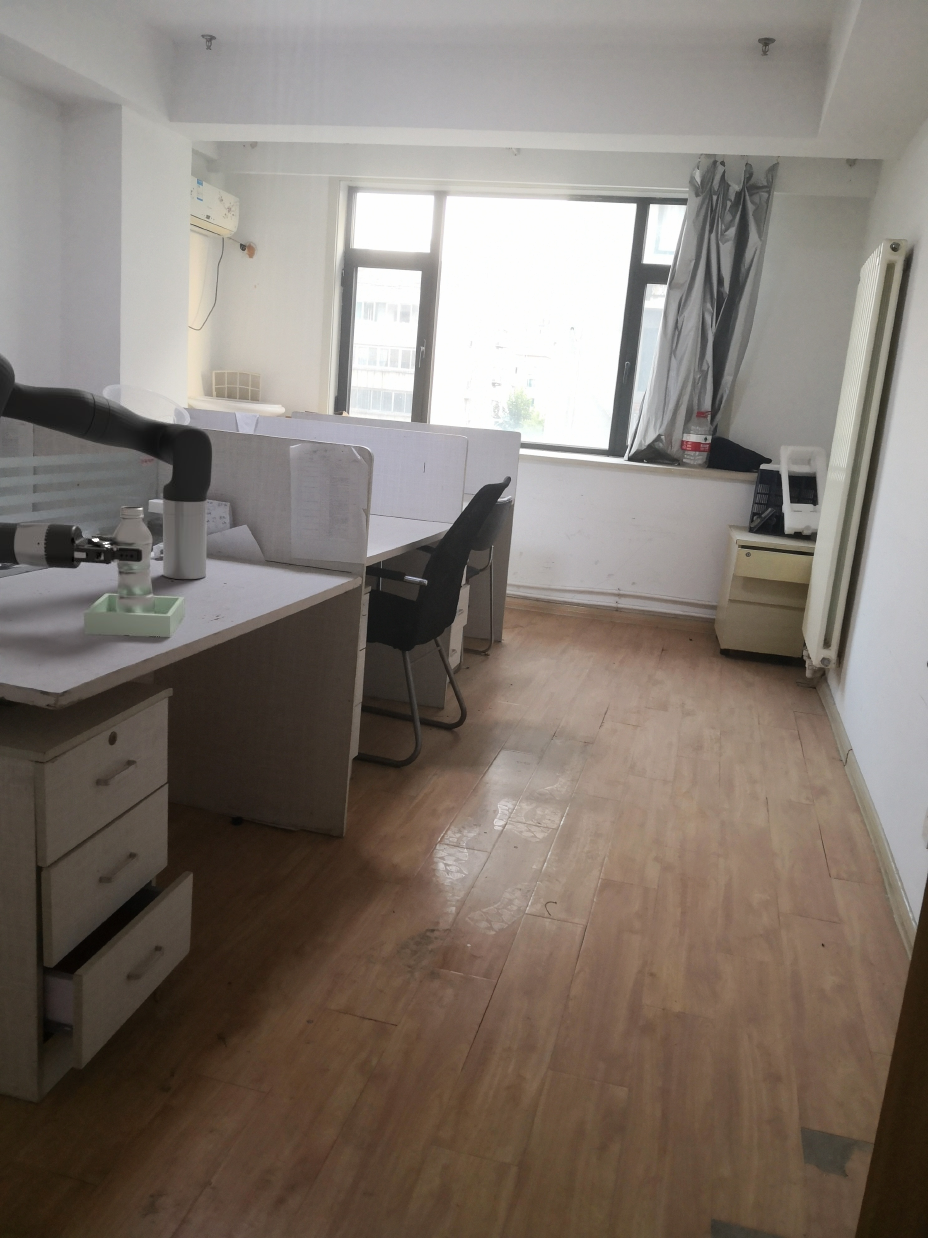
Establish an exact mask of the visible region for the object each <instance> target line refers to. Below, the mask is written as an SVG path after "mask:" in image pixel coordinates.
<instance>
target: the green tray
mask: <svg viewBox="0 0 928 1238" xmlns="http://www.w3.org/2000/svg"><path fill="white" fill-rule="evenodd" d="M117 594H118V593H107V592H106V593H104V594H103V595H102V596H101V597H100V598H99V599H97V600H96V601H95V602H93V604H92V605H91V606H89V607H88V608H87V609H86V610H85V611H83V623H84V624H83V629H84V635H99V634H100V635H99V636H101V635H105V636H107V635H108V636H124V635H129V636H130V637H149V636H156V637H155V638H171V637H172V635H173V634H174V633H175V631H176V630H177V629H176V628H178V627H179V626H178V625H181V623H182V621H183V620H184V618H185V614H186V613H185V612H186V611H185V610H186V609H185V603H186V602H185V598H186V597H185V596H167V595H154V599H155V612H154V614H142V613H119V612H117V610H116V598H117ZM129 636H128V637H129ZM157 636H158V637H157ZM159 636H160V637H159Z"/></svg>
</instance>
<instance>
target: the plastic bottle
mask: <svg viewBox="0 0 928 1238" xmlns="http://www.w3.org/2000/svg"><path fill="white" fill-rule="evenodd" d="M119 518H120V519H121V522H120V523H119V524H118V526H117V527H116V529H115V530H114V532H113V534H112V535H113V543H114V546H116V547H118V550H119V547H122V548H140V549H142V561H140V562H130V561H119V559H118V562H116V568H117V575H118V576H117V593H116V594H117V598H116V610H117V612H119V613H142V614H154V612H155V599H154V596H155V595H154V593H153V586H152V578H151V557H152V552H151V549H152V541H153V536H152V533H151V531H150V529H149V528H148V526H147V525H146V524H145V523H144V521H143V519H144V518H145V515H144V507H143V506H138V505H137V506H134V505H132V506H131V505H130V506H129V505H127V506H120V514H119Z"/></svg>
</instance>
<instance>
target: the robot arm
mask: <svg viewBox="0 0 928 1238" xmlns="http://www.w3.org/2000/svg"><path fill="white" fill-rule="evenodd" d="M1 417H2V418H8V419H11V420H18V421H21V422H26V423H29V424H32V425H34V426H39V427H42V428H46V429H49V430H52V431H56V432H59V433H62V434H66V435H69V436H71V437H75V438H78V439H81V440H85V441H89V442H92V443H95V444H100V445H105V446H108V447H116V448H122V449H123V448H124V449H129V450H134V451H136V452H140V453H142V454H144V455H147V456H149V457H152V458H154V459H157V460H159V461H161V462H163V463H165V464H168V465H171V466H172V470H171V471H172V472H171V473H172V474H171V479H170V481H169V482H168V483H166V484H165V485H163V487H162V540H163V541H162V551H163V552H162V554H163V555H162V564H163V565H162V566H163V567H162V570H163V571H162V572H163V576H164V577H166V578H169V579H177V580H195V579H202V578H205V577H206V576H207V530H208V529H207V525H208V523H207V522H208V521H207V519H208V516H207V513H208V512H207V510H208V509H207V503H208V500H207V498H208V492H209V490H210V488H211V483H212V481H211V480H212V470H213V469H212V468H213V467H212V465H213V447H212V442H211V438H210V436H209V434H208V433H207V432H206V431H205V430H204V429H202V428H201V427H198V426H194V425H187V424H180V423H174V422H173V423H172V422H171V423H170V422H168V421H167V422H166V421H160V420H156V419H152V418H149V417H145V416H143V415H140V414H137V413H136V412H134V411H132V410H131V409H129V408H127V407H125V406H124V405H122V404H120V403H118V402H116V401H114V400H111V399H109V398H106V397H103V396H101V395H98V394H96V393H92V392H89V391H86V390H83V389H77V388H68V387H51V386H50V387H49V386H48V387H45V386H32V385H28V384H27V385H26V384H23V383H19V382H16V374H15V370H14V368H13V366H12V364H11V363H10V361H9V360H8V359H7V357H5V356H4V355H3V354H2V353H0V418H1ZM153 551H154V542H153V540H152V549H151V553H152V552H153ZM118 559H119V561H130V562H140V561H142V549H140V548H122V547H119V550H118V547H116V546H114V543H113V534H100V533H96V534H91V536H90V537H84V536H83V531H82V529H81V527H80V526H78V525H77V524H61V523H43V522H30V523H29V522H27V523H20V522H4V521H3V522H0V564H4V565H5V564H6V565H7V564H9V565H23V566H25V565H26V566H29V567H37V568H53V569H57V568H58V569H72V570H74V569H77V568H79V566H80V565H81V563H86V564H103V565H104V564H105V565H110V564H112V563H117V562H118Z"/></svg>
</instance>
